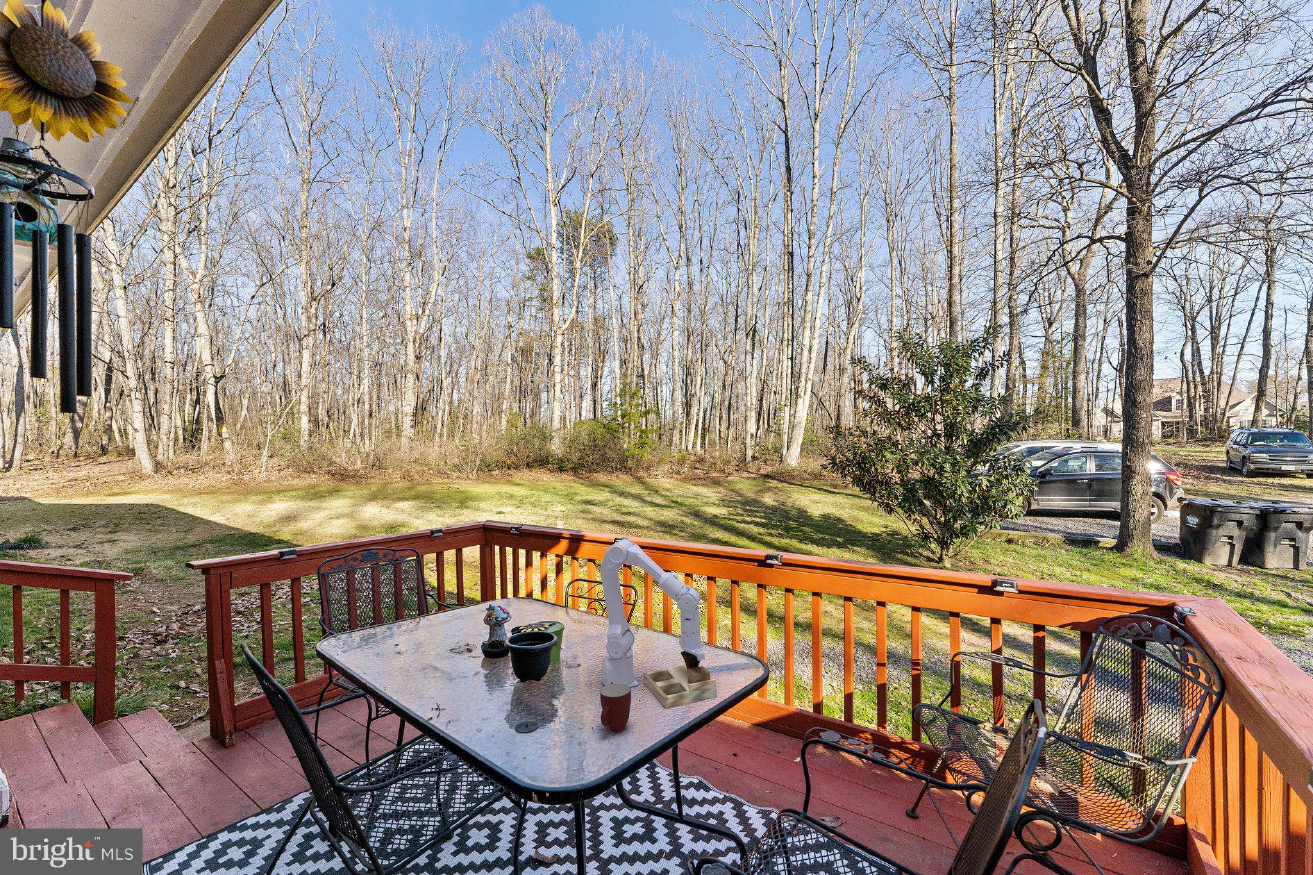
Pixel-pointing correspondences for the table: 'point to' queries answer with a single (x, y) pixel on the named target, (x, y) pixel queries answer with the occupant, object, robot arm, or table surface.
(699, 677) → the walnut block
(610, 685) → the mug
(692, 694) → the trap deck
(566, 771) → the table surface
